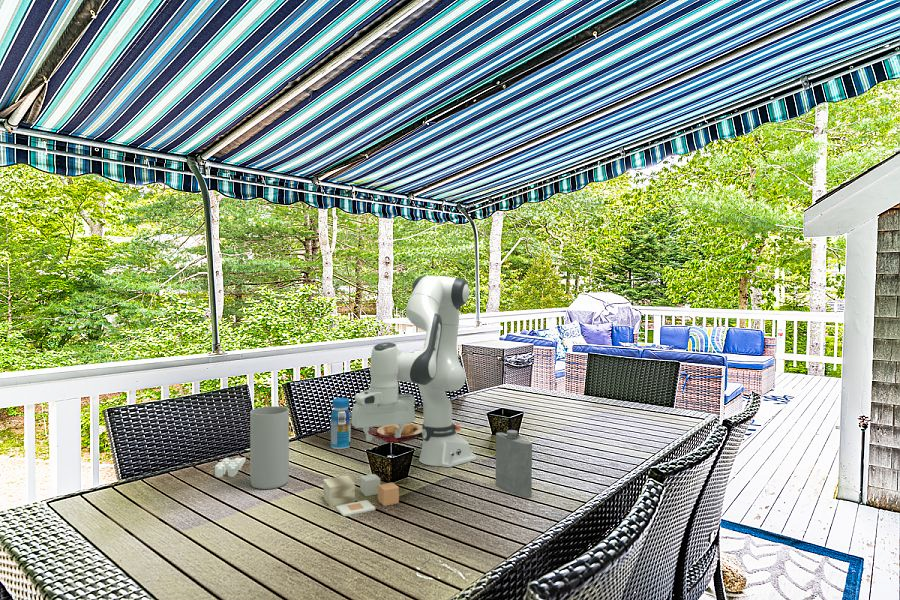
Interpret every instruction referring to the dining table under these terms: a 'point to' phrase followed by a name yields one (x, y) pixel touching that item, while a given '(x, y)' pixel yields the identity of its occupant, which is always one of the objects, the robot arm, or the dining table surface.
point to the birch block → (338, 490)
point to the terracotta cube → (388, 494)
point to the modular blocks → (229, 466)
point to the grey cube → (369, 484)
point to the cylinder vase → (269, 447)
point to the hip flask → (514, 464)
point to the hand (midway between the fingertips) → (383, 439)
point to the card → (355, 508)
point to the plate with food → (390, 430)
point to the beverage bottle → (340, 424)
